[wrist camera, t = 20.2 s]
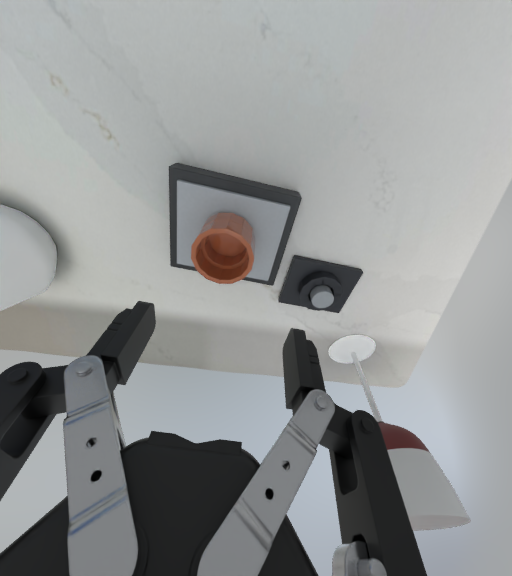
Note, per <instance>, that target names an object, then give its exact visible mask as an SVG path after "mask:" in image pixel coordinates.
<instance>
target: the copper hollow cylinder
mask: <svg viewBox="0 0 512 576" xmlns="http://www.w3.org/2000/svg"><path fill="white" fill-rule="evenodd" d="M254 255H255V235H254V231H253V228H252V227H251V225H250V224H249V223H248V222H247V221H246V220H245V218H243V217H240V216H238V215H236V214H234V213H217V214H215V215H213V216H211V217H209V218H208V219H207V220H206V222H205V223H204V225H203V226H202V228H201V230H200V232H199V233H198V235H197V237H196V238H195V240H194V242H193V244H192V246H191V260H192V262H193V264H194V266H195V268H196V270H197V271H198V272H199V273H200V274H201V275H203V276H204V277H205V278H206V279H208V280H211V281H213V282H216V283H219V284H232V283H235V282H237V281H240V280H242V279H244V278H245V277H246V276H247V275H248V273H249V272H250V271H251V270H252V266H253V262H254Z"/></svg>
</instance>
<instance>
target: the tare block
mask: <svg viewBox="0 0 512 576" xmlns="http://www.w3.org/2000/svg"><path fill="white" fill-rule="evenodd" d="M362 274H363V271H362V270H361V269H357V268H353V267H348V266H343V265H338V264H333V263H329V262H324V261H319V260H314V259H309V258H304V257H300V256H295V255H294V257H293V260H292V263H291V265H290V268H289V271H288V274H287V276H286V279H285V282H284V285H283V288H282V290H281V293H280V296H279V302H281V303H286V304H292V305H297V306H303V307H307V308H308V309H312V310H325V311H330V312H336V313H339V312H340V310H341V309H342V307H343V305H344V304H345V302H346V300H347V299H348V297H349V295H350V294H351V292H352V290H353V289H354V287H355V285H356V284H357V282H358V280H359V279H360V277H361V275H362ZM319 285H325V286H328V287H329V288H330V289H331V292H332V294H333V297H334V301H333V303H332V304H331V305H330V306H328V307H326V308H317V307H315V306H314V305H313V304H312V301H311V298H310V292H311V290H312V289H313V288H314V287H316V286H319Z"/></svg>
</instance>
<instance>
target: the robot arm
mask: <svg viewBox="0 0 512 576" xmlns="http://www.w3.org/2000/svg"><path fill="white" fill-rule="evenodd" d="M155 324H156V320H155V309H154V304H153V303H148V302H142V301H138V302H137V303H136V305H135V306H134V308H133V309H125V310H124V311H122V312H121V313H119V314H118V315H117V316H116V317H115V319H114V320H113V321H112V324H110V325H109V327H108V328H107V330H106V331H105V332H104V333H103V334H102V336H101V337H100V338H99V340H98V341H97V342H96V344H95V345H94V346H93V348H92V349H91V350H90V352H89V353H88V354H87V355H86V356H83V357H80V358H78V359H76V360H74V361H73V362H71V363H70V364H69V365H65V366H58V367H50V368H42V367H41V366H40V365H39V364H38V363H35V362H23V363H20V364H16V365H14V366H12V367H10V368H8V369H6V370H5V371H4V372H2V373H1V374H0V501H1V499H2V497H3V496H4V494H5V493H6V491H7V489H8V488H9V487H10V485H11V484H12V482H13V480H14V479H15V477H16V476H17V474H18V473H19V471H20V470H21V468H22V467H23V465H24V463H25V462H26V460H27V459H28V457H29V456H30V454H31V453H32V451H33V450H34V448H35V446H36V445H37V443H38V442H39V440H40V439H41V437H42V436H43V434H44V432H45V431H46V429H47V428H48V426H49V425H50V423H51V422H52V420H53V419H54V417H55V415H56V414H59V413H64V412H67V417H66V419H64V422H63V429H64V430H63V431H64V446H65V461H66V476H67V492H68V496H67V497H66V498H64V499H63V500H62V501H61V502H60V503H59V504H58V505H56V506H55V507H54V508H53V509H52V510H50V511H49V512H48V513H47V514H46V515H45V516H44V517H42V518H41V519H40V520H39V521H38V522H37V523H35V524H34V525H33V526H32V527H31V528H29V529H28V530H27V531H26V532H25V533H24V534H22V536H20V537H19V538H18V539H17V540H16V541H14V542H13V543H12V544H11V545H10V546H9V547H8V548H6V549H5V550H4V551H3V552H2V553H0V576H318V574H317V572H316V570H315V568H314V566H313V565H312V562H311V560H310V559H309V557H308V555H307V553H306V551H305V549H304V547H303V545H302V543H301V541H300V540H299V537H298V536H297V534H296V532H295V530H294V528H293V526H292V524H291V522H290V520H289V518H288V516H287V514H286V513H287V511H288V509H289V507H290V505H291V503H292V501H293V499H294V497H295V495H296V493H297V491H298V489H299V487H300V485H301V483H302V481H303V479H304V477H305V475H306V473H307V471H308V469H309V467H310V465H311V463H312V461H313V459H314V457H315V455H316V452H317V450H316V448H317V446H318V444H320V445H322V446H324V447H326V448H328V449H329V452H330V459H331V466H332V474H333V481H334V487H335V495H336V502H337V509H338V516H339V524H340V531H341V538H342V545H340V546H338V547H337V548H336V550H335V552H334V555H333V562H332V571H333V573H332V576H427V574H426V571H425V568H424V564H423V562H422V558H421V555H420V552H419V549H418V546H417V542H416V539H415V536H414V533H413V530H412V527H411V523H410V520H409V517H408V514H407V511H406V508H405V504H404V501H403V498H402V495H401V492H400V489H399V486H398V482H397V479H396V476H395V473H394V470H393V467H392V463H391V460H390V457H389V454H388V451H387V448H386V444H385V441H384V438H383V435H382V432H381V429H380V426H379V424H378V422H377V421H376V420H375V418H374V417H373V416H372V415H370V414H369V413H367V412H365V411H362V410H357V411H355V412H354V413H351V412H349V411H347V410H345V409H343V408H341V407H339V406H337V405H336V404H335V403H334V402H333V400H332V399H331V397H330V396H329V395H328V394H327V393H326V390H325V386H324V381H323V377H322V372H321V368H320V365H319V358H318V354H317V349H316V347H315V345H314V344H313V342H312V341H310V340H306V335H305V331H304V330H299V329H293V328H291V330H290V332H289V334H288V336H287V339H286V341H285V343H284V346H283V367H284V383H285V397H286V408H287V409H292V410H293V417H292V418H291V420H290V421H289V423H288V424H287V426H286V427H285V429H284V430H283V432H282V433H281V435H280V436H279V437H278V439H277V441H276V442H275V443H274V445H273V446H272V448H271V449H270V451H269V452H268V454H267V456H266V457H265V458H264V460H263V461H262V463H261V464H259V463H258V461H257V460H256V459H255V458H254V457H253V456H252V455H251V454H250V453H248V452H247V451H245V450H243V449H241V445H242V442H236V441H228V440H215V441H209V442H203V443H193V442H191V441H189V440H186V439H184V438H182V437H180V436H178V435H176V434H172V433H163V432H156V431H151V434H150V436H149V438H144V439H141V440H138V441H136V442H133V443H131V444H130V445H128V446H126V443H125V439H124V436H123V432H122V428H121V424H120V420H119V416H118V411H117V407H116V402H115V398H114V393H113V391H114V389H115V388H116V386H117V384H121V385H125V384H126V382H127V380H128V378H129V377H130V375H131V373H132V371H133V369H134V367H135V365H136V364H137V362H138V360H139V358H140V356H141V354H142V352H143V351H144V349H145V347H146V345H147V343H148V341H149V339H150V337H151V336H152V334H153V332H154V329H155Z"/></svg>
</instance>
